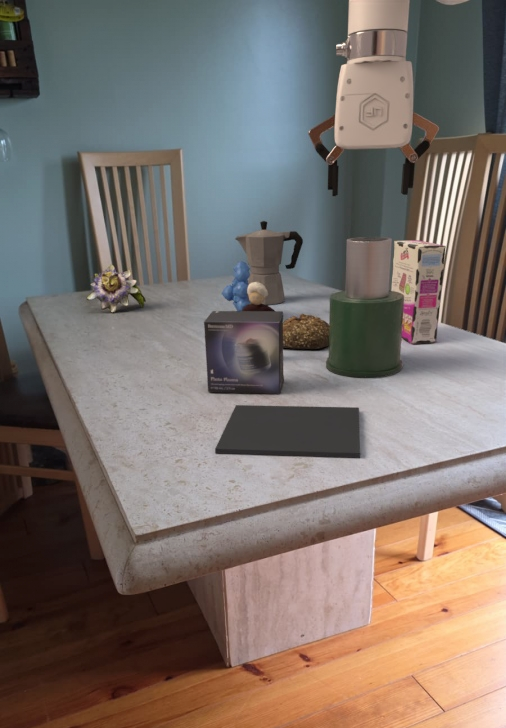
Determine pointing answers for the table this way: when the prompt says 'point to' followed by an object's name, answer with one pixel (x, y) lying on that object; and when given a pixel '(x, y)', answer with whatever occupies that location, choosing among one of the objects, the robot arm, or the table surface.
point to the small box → (244, 351)
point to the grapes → (238, 287)
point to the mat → (292, 431)
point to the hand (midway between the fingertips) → (369, 194)
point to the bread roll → (305, 332)
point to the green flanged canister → (365, 335)
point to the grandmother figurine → (257, 298)
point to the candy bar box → (419, 287)
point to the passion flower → (114, 289)
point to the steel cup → (368, 267)
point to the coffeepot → (269, 259)
